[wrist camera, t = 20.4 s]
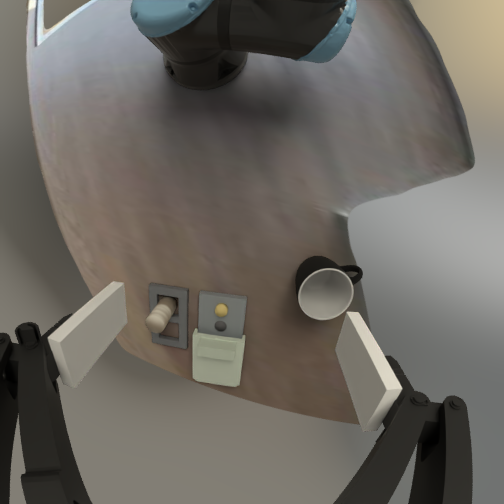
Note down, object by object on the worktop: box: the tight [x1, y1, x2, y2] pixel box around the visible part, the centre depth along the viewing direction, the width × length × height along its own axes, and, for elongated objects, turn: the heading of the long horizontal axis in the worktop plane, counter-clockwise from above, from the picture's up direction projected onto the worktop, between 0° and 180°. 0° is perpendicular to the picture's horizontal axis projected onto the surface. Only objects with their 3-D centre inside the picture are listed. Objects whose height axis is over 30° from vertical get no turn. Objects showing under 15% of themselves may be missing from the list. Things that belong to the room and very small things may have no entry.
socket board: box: [149, 283, 189, 349], centre depth 54 cm, size 14×8×1 cm, turn 174°
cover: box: [193, 328, 246, 387], centre depth 53 cm, size 13×10×5 cm
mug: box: [296, 256, 363, 320], centre depth 46 cm, size 12×9×10 cm
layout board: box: [198, 290, 247, 339], centre depth 53 cm, size 12×9×3 cm
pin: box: [146, 295, 178, 333], centre depth 50 cm, size 4×4×9 cm
